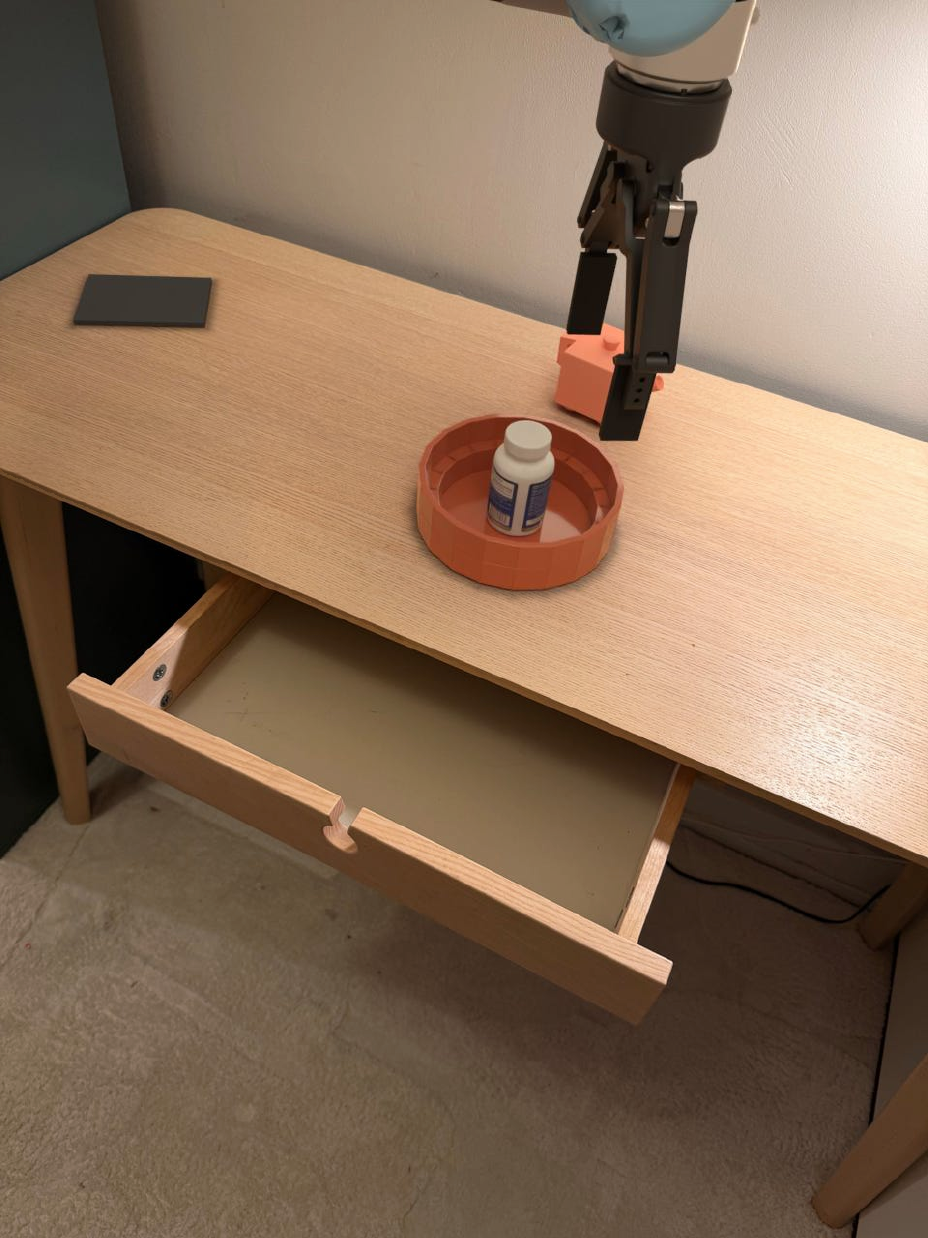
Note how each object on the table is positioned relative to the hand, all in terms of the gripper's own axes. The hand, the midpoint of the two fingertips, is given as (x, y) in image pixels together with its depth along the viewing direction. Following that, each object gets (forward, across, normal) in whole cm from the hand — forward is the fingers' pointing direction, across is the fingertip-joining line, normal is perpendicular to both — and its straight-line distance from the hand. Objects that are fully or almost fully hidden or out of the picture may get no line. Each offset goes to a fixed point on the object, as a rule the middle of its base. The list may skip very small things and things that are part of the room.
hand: (599, 382), depth 69 cm
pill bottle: (+18, +5, +4) cm, 19 cm away
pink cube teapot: (+19, +23, -8) cm, 31 cm away
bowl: (+18, +5, +4) cm, 19 cm away
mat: (+18, +42, +42) cm, 62 cm away
